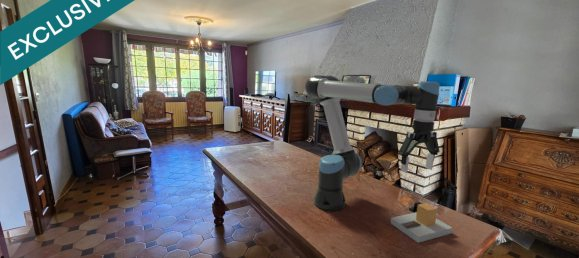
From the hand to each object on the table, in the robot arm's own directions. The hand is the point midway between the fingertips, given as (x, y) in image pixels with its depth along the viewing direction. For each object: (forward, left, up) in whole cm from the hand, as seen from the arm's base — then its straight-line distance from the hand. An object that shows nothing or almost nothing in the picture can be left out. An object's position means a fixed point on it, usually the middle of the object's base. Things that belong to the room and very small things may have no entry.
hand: (416, 170), depth 104 cm
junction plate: (-1, -6, -23) cm, 24 cm away
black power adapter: (+10, +4, -24) cm, 26 cm away
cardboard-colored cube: (+1, -6, -20) cm, 21 cm away
